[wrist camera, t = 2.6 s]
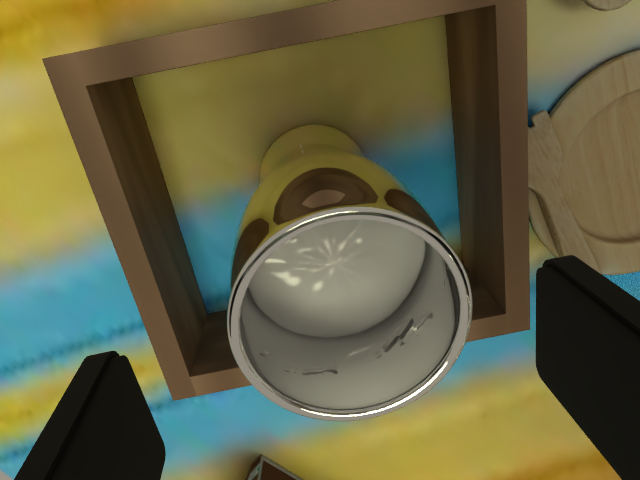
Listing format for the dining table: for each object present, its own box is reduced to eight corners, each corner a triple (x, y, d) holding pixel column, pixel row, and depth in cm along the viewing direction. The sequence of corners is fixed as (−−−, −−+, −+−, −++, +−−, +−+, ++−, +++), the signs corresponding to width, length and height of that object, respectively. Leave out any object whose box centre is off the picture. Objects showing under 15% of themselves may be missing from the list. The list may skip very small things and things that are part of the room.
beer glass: (398, 149, 26) (532, 264, 12) (341, 255, 28) (400, 455, 14) (282, 92, 24) (286, 150, 11) (231, 209, 27) (178, 384, 13)
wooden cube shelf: (467, -17, 23) (525, -37, 18) (483, 276, 29) (530, 329, 24) (99, 56, 23) (41, 58, 18) (193, 334, 29) (173, 400, 24)
